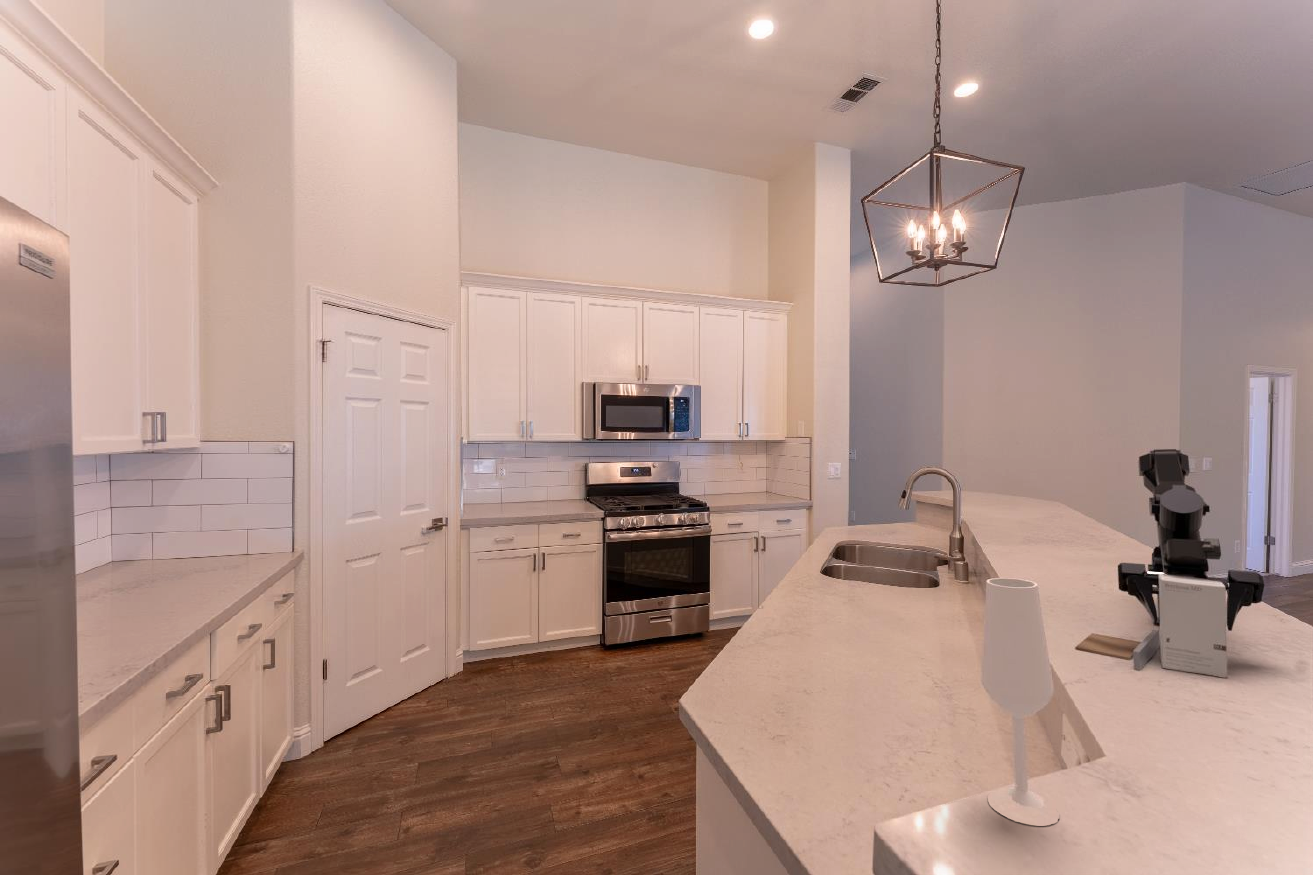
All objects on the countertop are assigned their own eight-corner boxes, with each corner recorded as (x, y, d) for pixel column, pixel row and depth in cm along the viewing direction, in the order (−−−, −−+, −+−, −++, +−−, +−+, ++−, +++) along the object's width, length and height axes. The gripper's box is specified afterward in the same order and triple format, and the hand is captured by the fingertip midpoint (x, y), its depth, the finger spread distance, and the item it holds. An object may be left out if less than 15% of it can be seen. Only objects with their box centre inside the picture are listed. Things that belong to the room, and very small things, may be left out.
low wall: (1154, 645, 109) (1153, 629, 109) (1159, 646, 109) (1159, 630, 109) (1133, 669, 99) (1133, 651, 99) (1140, 670, 98) (1139, 652, 98)
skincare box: (1161, 668, 99) (1157, 579, 99) (1159, 657, 103) (1155, 572, 104) (1231, 679, 93) (1226, 585, 94) (1226, 667, 98) (1221, 577, 98)
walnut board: (1092, 635, 116) (1092, 633, 116) (1144, 644, 110) (1143, 642, 110) (1075, 649, 109) (1075, 646, 109) (1129, 659, 103) (1129, 657, 103)
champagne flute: (1058, 799, 64) (1047, 578, 65) (1061, 834, 59) (1049, 592, 59) (988, 782, 68) (978, 573, 68) (984, 814, 62) (974, 586, 63)
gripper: (1115, 518, 108) (1119, 591, 99) (1258, 523, 97) (1278, 606, 88) (1116, 554, 115) (1121, 626, 105) (1251, 562, 103) (1269, 644, 94)
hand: (1192, 625), depth 98 cm, fingers open, 9 cm apart
